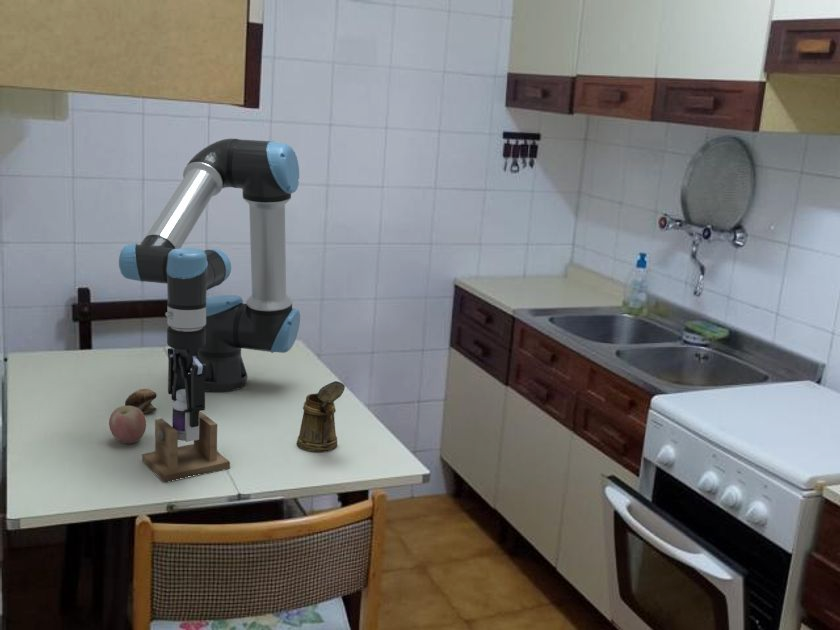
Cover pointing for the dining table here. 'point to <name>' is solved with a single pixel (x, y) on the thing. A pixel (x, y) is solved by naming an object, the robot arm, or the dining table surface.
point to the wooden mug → (320, 419)
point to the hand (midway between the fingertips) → (185, 434)
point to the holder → (185, 452)
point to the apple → (127, 424)
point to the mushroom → (142, 400)
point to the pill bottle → (180, 413)
